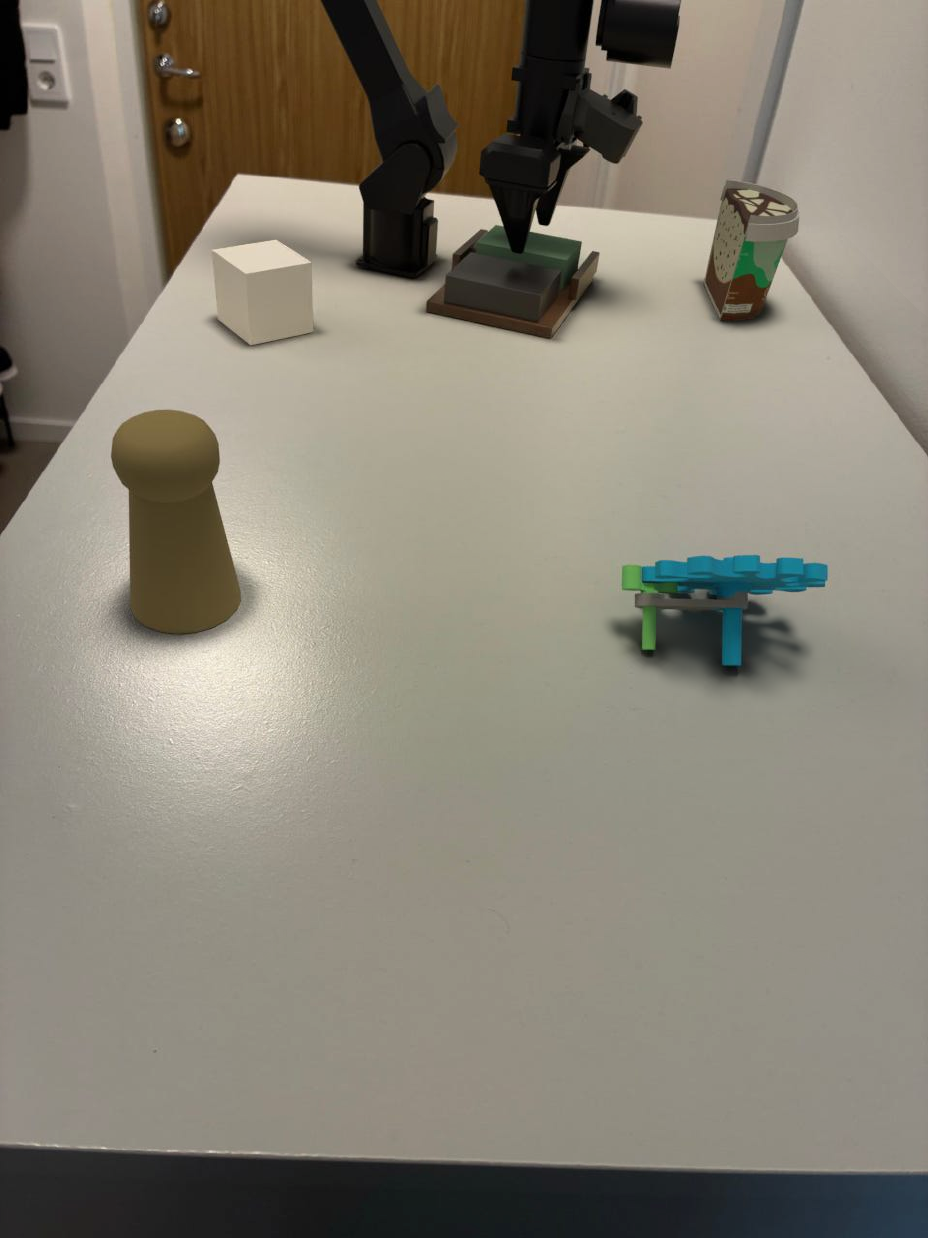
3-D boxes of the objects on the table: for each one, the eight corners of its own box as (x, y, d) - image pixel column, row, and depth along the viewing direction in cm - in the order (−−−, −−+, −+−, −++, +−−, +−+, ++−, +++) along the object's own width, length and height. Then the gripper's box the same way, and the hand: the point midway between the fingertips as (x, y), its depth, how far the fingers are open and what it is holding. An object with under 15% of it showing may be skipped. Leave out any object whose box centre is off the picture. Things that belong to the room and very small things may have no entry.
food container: (786, 331, 90) (820, 223, 84) (723, 326, 90) (751, 217, 84) (758, 284, 100) (787, 183, 93) (700, 278, 100) (725, 177, 93)
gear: (805, 573, 57) (852, 543, 47) (804, 672, 56) (852, 663, 46) (618, 570, 58) (626, 540, 48) (616, 666, 58) (623, 656, 48)
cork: (186, 648, 50) (160, 468, 43) (106, 604, 52) (68, 426, 45) (263, 592, 54) (251, 419, 47) (185, 553, 56) (162, 383, 49)
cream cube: (313, 332, 82) (311, 262, 78) (250, 345, 79) (245, 273, 75) (279, 307, 85) (276, 238, 82) (217, 319, 82) (211, 249, 79)
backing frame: (478, 258, 99) (481, 223, 97) (594, 281, 97) (600, 246, 94) (422, 310, 87) (424, 272, 85) (554, 339, 85) (559, 301, 82)
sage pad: (492, 254, 97) (495, 224, 96) (577, 271, 96) (582, 241, 94) (474, 273, 93) (476, 241, 91) (562, 291, 91) (567, 259, 89)
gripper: (621, 87, 74) (589, 286, 84) (663, 51, 87) (631, 226, 97) (485, 65, 76) (470, 262, 86) (547, 34, 90) (527, 207, 100)
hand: (531, 238), depth 92 cm, fingers open, 9 cm apart
